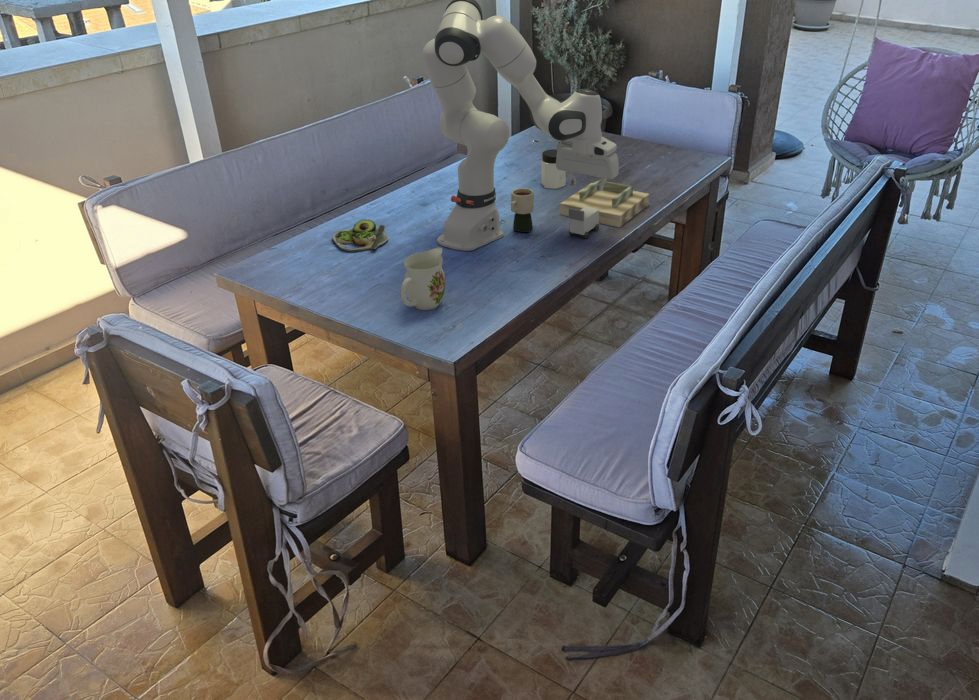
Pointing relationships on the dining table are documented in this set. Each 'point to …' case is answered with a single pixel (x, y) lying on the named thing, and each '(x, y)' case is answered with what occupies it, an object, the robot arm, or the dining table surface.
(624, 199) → the dock
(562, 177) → the jar
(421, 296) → the pitcher
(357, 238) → the avocado toast plate
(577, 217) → the grey boxy block
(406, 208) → the dining table surface
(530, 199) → the character mug
